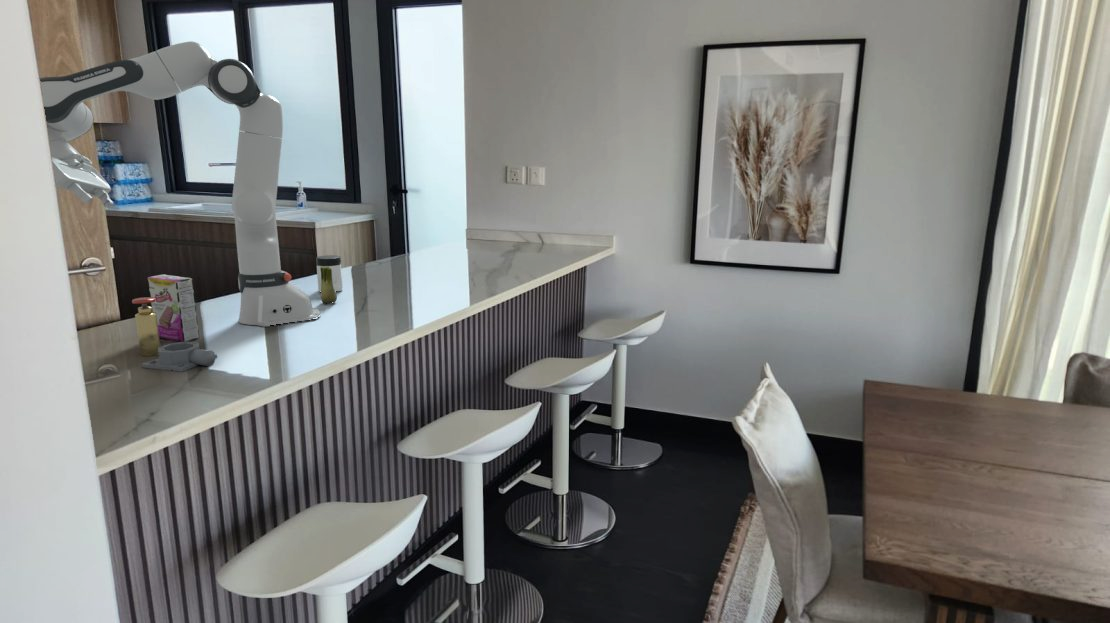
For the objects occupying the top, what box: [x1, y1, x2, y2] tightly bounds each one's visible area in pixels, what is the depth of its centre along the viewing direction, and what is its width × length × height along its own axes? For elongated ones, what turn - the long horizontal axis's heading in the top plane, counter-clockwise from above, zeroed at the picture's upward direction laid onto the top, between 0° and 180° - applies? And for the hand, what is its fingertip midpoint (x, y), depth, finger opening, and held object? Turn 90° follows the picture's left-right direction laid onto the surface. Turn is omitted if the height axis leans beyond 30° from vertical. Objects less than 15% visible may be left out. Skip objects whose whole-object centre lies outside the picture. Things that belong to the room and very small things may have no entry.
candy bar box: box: [147, 274, 200, 342], centre depth 180 cm, size 11×5×16 cm, turn 66°
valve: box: [131, 296, 162, 357], centre depth 167 cm, size 5×5×14 cm
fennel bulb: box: [320, 267, 338, 304], centre depth 221 cm, size 6×5×12 cm
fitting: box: [141, 341, 218, 373], centre depth 160 cm, size 14×11×4 cm
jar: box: [315, 254, 343, 292], centre depth 240 cm, size 9×8×12 cm
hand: (100, 203), depth 170 cm, fingers open, 8 cm apart
